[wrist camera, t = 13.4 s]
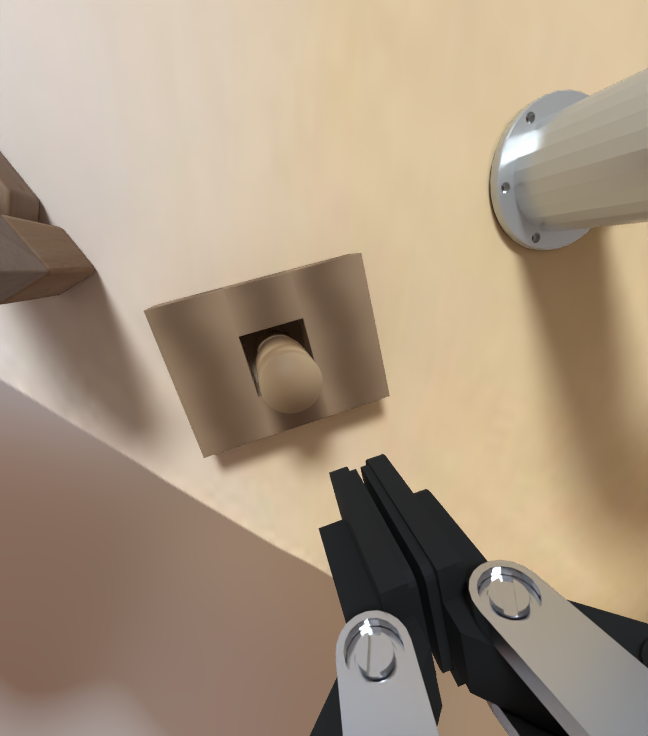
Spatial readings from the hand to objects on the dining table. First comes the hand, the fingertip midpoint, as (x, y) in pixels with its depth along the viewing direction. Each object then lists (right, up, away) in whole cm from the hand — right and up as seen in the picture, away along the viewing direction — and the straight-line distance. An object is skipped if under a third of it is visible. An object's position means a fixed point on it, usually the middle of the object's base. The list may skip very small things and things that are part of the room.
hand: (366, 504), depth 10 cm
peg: (-5, +6, +20) cm, 22 cm away
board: (-5, +6, +20) cm, 22 cm away
